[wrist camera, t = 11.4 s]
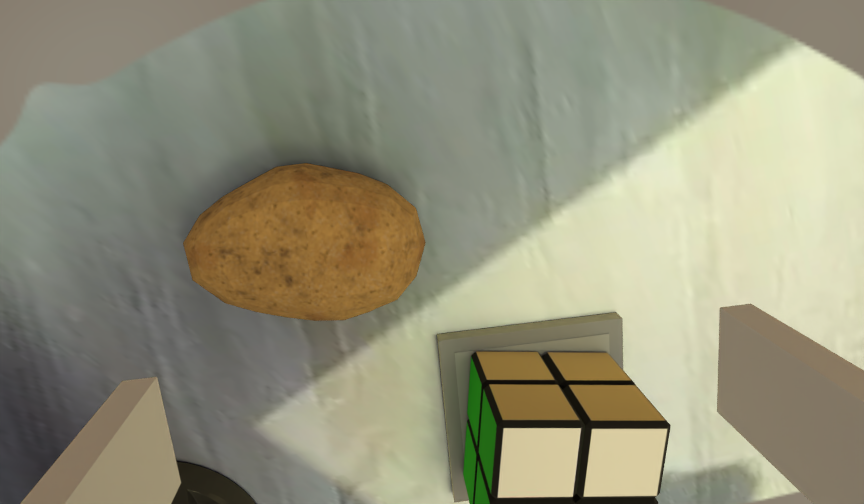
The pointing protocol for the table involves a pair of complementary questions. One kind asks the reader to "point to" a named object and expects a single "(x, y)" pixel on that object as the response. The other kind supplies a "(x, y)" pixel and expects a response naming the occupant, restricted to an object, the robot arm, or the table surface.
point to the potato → (307, 244)
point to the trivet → (528, 337)
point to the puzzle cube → (560, 431)
